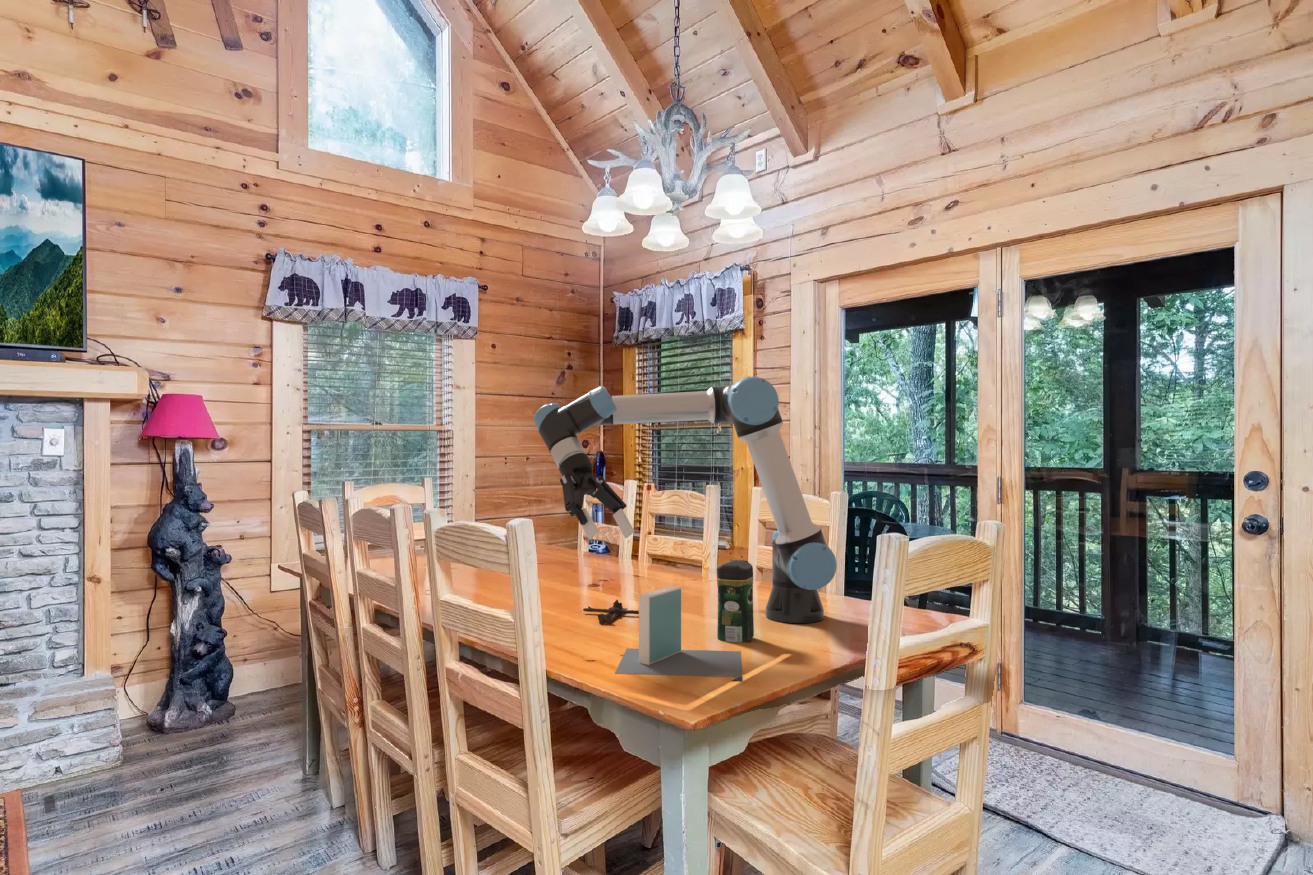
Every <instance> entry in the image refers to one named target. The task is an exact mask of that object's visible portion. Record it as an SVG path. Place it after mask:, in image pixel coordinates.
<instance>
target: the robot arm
mask: <svg viewBox="0 0 1313 875" xmlns="http://www.w3.org/2000/svg"><path fill="white" fill-rule="evenodd" d="M779 406H780V404H779V395H778V392H777V390H776V388H775V387H774V385H773V384H772V383H771V382H769V381H768V380H767V379H765V378H762V377H759V376H745V377H741V378H740V379H739V380H736V382H735V381H734V382H733V383H730V384H726V385H722V386H711V387H710V388H708V389H707V390H706V391H685V392H682V391H681V392H666V393H665V392H663V393H645V394H642V393H641V394H623V395H610V393H609V392H608V390H607V388H606V387H605V386H602V385H600V386H598V387H596V388H594V389H591V390H589V391H588V392H587V393H585V394H583V395H582V396H580V397H579V398H576V399H575V400H573V401H572V402H570V403H568V404H566V405H565V406H562V407H561V405H560V404H558V403H556V402H551V403H549V404H544V405H543V406H540V408H538V409H537V411H536V412H535V413H534V414H533V421H534V424H535V426H536V428H537V431H538V433H539V435H540V437H541V438H542V440H543V442H544V444H545V447H546V448H547V449H548V452H549V454H550V456H552V458H553V460H554V463H555V464H556V466H557V468H558V470H559V473H560V474H561V475H562V476H561V478H559V482H560V484H561V487H562V493H563V494H562V495H563V501H564V502H563V503H564V510H565V511H566V512H567V513H568V512H569V515H570V516H571V517H574V516H575V517H576V518H577V521H578V523H579V524H580V525H581V526H582V529H583V530H584V533H585V535H586V536H587V539H588V540H593V539H594V538H595V537H596V536H597V535H598V534H599V533H600V532H599V530H598V527H597V525H596V524H595V522H594V520H593V519H592V517H591V515H590V512H589V510H588V509H587V507H583V506H584V498H585V496H586V495H587V496H590V497H592V498H593V499H594V498H595V499H597V500H598V501H599V503H601V504H603V505H604V506H605V507H606V508H607V509H608V510H609V511H610V512H612V513H613V514H612V517H613V519H614V520H615V522H616V524H617V526H618V528H619V530H620V531H621V534H622V535H623V537H624V538H625V539H627V538H629V537H631V535H633V534H634V533H635V532H636V531H635V530H634V527H633V526H632V524H631V523H630V521H629V519H628V517H627V515H626V513H625V511H624V510H625V508H627V504H626V503H625V501H623V500H622V499H621V497H620V496H619V495H618V494H617V492H616V491H615V490H613V488H612V487H611V486H610V485H609V484H608V482H607V481H606V480H605V478H604V477H603V476H602V475H599V476H598V477H595V475H594V474H593V473H592V472H593V468H594V465H593V462H592V461H591V459H590V458H589V456H588V454H586V450H585V448H584V447H583V445H582V443H581V441H580V440H579V437H578V436H577V435H578V434H581V433H582V432H584V431H586V430H587V429H589V428H591V427H598V426H608V425H609V426H610V425H625V424H626V425H629V424H645V423H646V424H647V423H650V424H651V423H667V422H668V423H669V422H670V423H671V422H673V423H674V422H689V421H691V422H692V421H709V422H710V423H711V424H730V425H733V426H734V429H735V432H736V435H737V438H738V439H739V440H741V441H743V442H745V443H746V445H747V448H748V451H749V454H750V457H751V458H752V461H753V465H754V468H755V470H756V472H757V476H758V479H759V482H760V485H761V486H762V491H763V493H764V496H765V499H766V502H767V504H768V508H769V511H770V513H771V516H772V518H773V521H774V524H775V527H776V529H777V530H775V531H774V532H773V533H772V538H771V539H772V541H771V545H772V546H771V547H772V548H771V549H772V550H771V551H772V559H771V560H772V563H771V564H772V566H771V567H772V573H771V574H772V585H771V586H772V587H771V591H770V594H769V597H768V599H767V603H766V605H765V606H766V607H765V616H766V618H768V619H770V620H772V621H776V622H781V623H791V624H811V623H816V622H817V623H818V622H821V621H823V620H824V618H825V612H824V611H825V610H824V607H823V603H822V600H821V597H820V594H819V593H820V592H819V591H818V590H820V589H822V588H824V587H826V586H827V585H829V584H830V583H831V582H832V580H833V579H834V577H835V575H836V572H837V566H838V565H837V564H838V563H837V559H836V556H835V554H834V552H833V551H832V549H831V547H829V546H828V545H827V542H826V539H825V536H824V534H823V531H822V529H821V526H819V525H818V524H816V523H814V522H812V519H811V515H810V513H809V510H808V508H807V505H806V502H805V499H804V496H803V493H802V490H801V488H800V484H799V483H798V479H797V477H796V476H797V475H796V473H795V471H794V468H793V465H792V463H791V460H790V457H789V454H788V451H787V449H786V446H785V443H784V440H783V436H782V434H781V429H782V426H783V424H784V421H783V419H782V415H781V413H780V409H779Z"/></svg>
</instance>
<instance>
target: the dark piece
mask: <svg viewBox="0 0 1313 875" xmlns="http://www.w3.org/2000/svg"><path fill="white" fill-rule="evenodd" d="M583 611H584V612H585V613H598V614H597V619H598V623H599V624H600V625H604V624H606V625H611V624H612V623H613V622H614V620H615V619H616V618H618V617H619V616H620V615H621V614H622V615H623V614H624V615H629V614H630V615H639V610H633V609H630V610H629V609H628V607H623V603H622V602H619V599H615V601H614V602H613V604H612V607H611V606H610V607H608V609H607V608H593V607H591V606H587V607H585V608H583ZM605 613H606V614H605Z"/></svg>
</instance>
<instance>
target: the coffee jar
mask: <svg viewBox="0 0 1313 875" xmlns="http://www.w3.org/2000/svg"><path fill="white" fill-rule="evenodd" d="M716 571H717V572H716V573H717V574H716V581H717V633H716V634H717V640H718V641H721V642H726V643H727V642H728V643H737V644H741V643H749V642H751V641H752V640H753V638H754V635H755V633H754V632H755V629H754V628H755V627H754V624H755V623H754V568H753V564H751V563H750V562H749V561H747V560H744V559H743V560H740V559H731V560H730V561H728V562H725V563H722V564H721V565H719V566H718V567H717V568H716Z"/></svg>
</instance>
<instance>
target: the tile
mask: <svg viewBox="0 0 1313 875" xmlns="http://www.w3.org/2000/svg"><path fill="white" fill-rule="evenodd" d="M638 611H639V614H638V649H639V663H642V664H646V665H650V664H652V663H655V662H657V661H659V660H662V659H664V658H667V657H669V656H672V655H674V654H676V653H679V652H681V650H682V587H681V586H677V585H670V586H666V587H663V588H659V589H656V590H655V589H654V590H651V591H649V592H644V593H641V594H638Z"/></svg>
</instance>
